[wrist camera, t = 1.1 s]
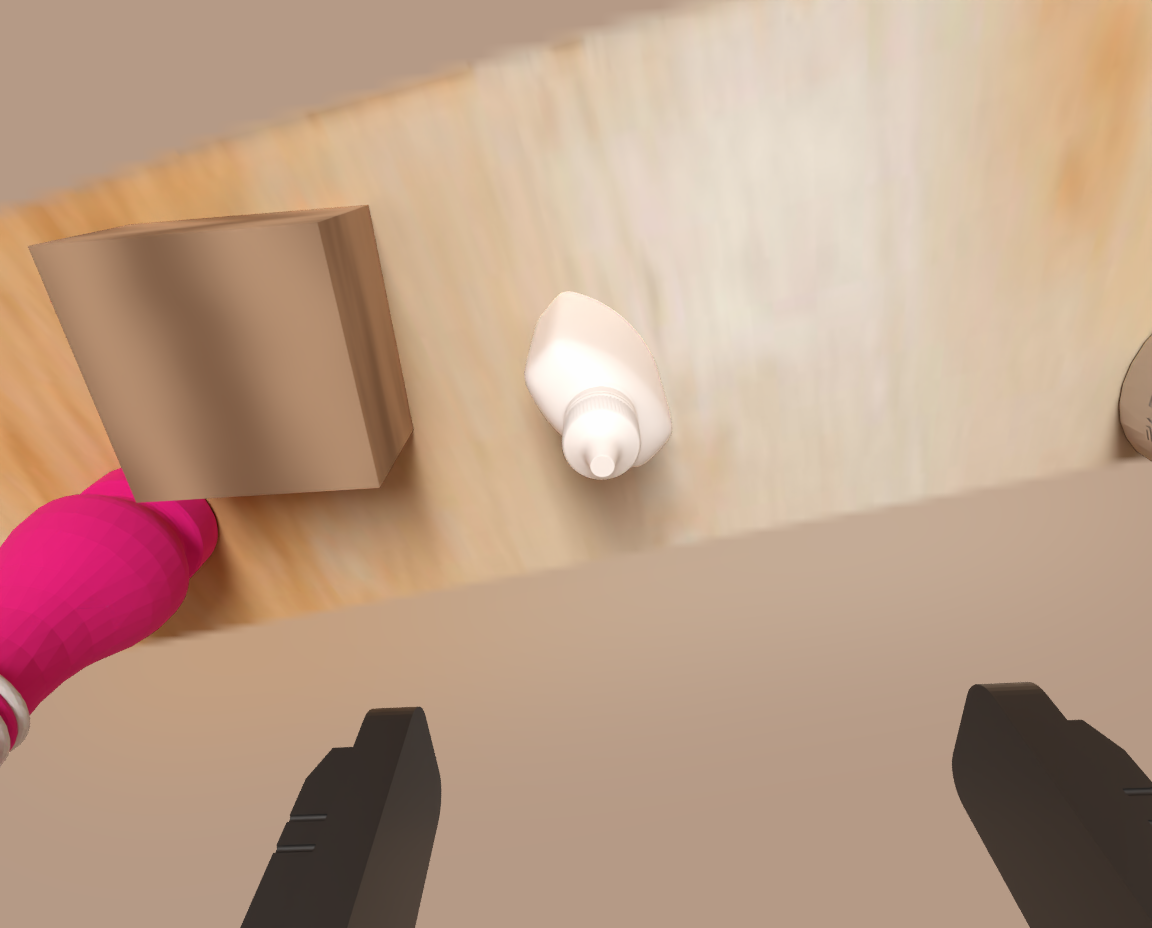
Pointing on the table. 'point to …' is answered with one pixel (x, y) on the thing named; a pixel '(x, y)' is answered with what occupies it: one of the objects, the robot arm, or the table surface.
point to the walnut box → (236, 351)
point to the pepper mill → (89, 587)
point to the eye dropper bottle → (597, 387)
